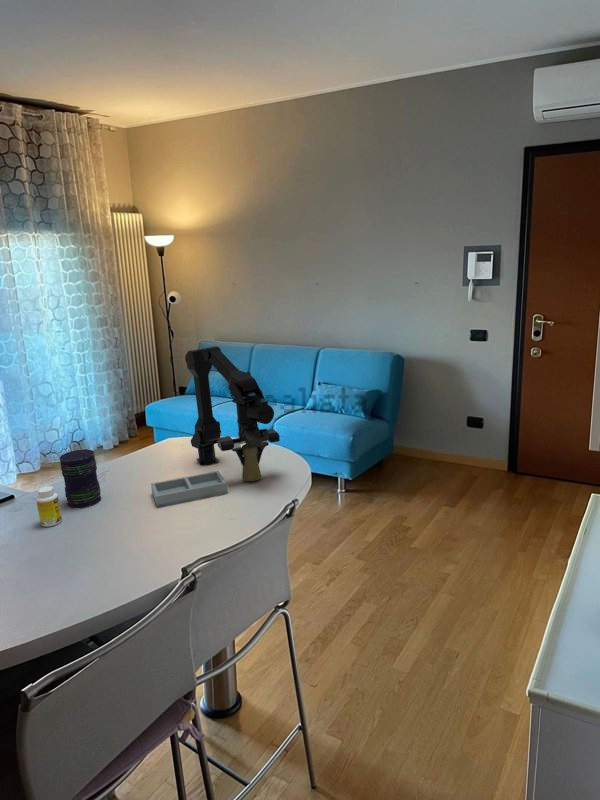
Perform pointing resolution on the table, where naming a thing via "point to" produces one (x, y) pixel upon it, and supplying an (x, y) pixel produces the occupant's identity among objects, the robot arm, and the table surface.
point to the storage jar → (80, 478)
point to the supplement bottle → (48, 507)
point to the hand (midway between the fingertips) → (250, 465)
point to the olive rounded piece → (250, 464)
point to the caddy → (188, 488)
